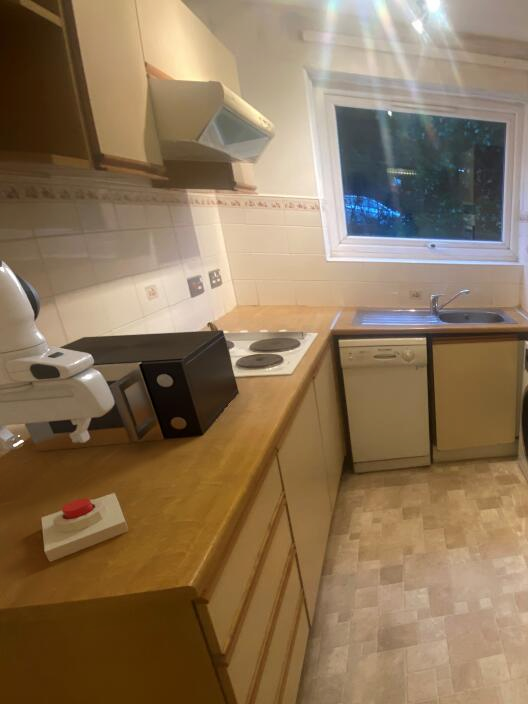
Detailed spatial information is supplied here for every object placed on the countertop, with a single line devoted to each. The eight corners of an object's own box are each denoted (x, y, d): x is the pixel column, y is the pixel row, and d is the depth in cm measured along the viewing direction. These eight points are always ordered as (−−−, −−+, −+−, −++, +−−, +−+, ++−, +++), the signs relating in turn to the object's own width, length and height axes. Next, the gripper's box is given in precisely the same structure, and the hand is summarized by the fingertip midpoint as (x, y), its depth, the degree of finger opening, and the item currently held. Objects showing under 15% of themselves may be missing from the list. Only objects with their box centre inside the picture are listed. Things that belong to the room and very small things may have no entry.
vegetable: (236, 377, 145) (221, 319, 138) (237, 381, 142) (222, 321, 134) (220, 379, 143) (205, 320, 136) (221, 384, 140) (205, 323, 132)
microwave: (201, 437, 108) (179, 361, 100) (36, 453, 100) (-3, 373, 93) (239, 393, 133) (223, 330, 126) (109, 403, 126) (83, 337, 118)
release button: (64, 513, 76) (60, 504, 75) (92, 503, 78) (88, 495, 78) (66, 522, 73) (62, 514, 73) (94, 512, 76) (91, 504, 75)
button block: (46, 527, 78) (36, 509, 76) (118, 501, 84) (111, 484, 83) (49, 562, 70) (39, 543, 69) (129, 531, 77) (121, 513, 75)
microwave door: (151, 451, 101) (123, 373, 94) (17, 465, 95) (-24, 383, 88) (167, 436, 108) (142, 362, 100) (42, 448, 102) (6, 370, 95)
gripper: (-98, 378, 60) (-49, 462, 66) (78, 366, 65) (110, 446, 70) (-55, 363, 66) (-14, 442, 71) (103, 353, 71) (131, 428, 76)
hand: (49, 444), depth 71 cm, fingers open, 8 cm apart
